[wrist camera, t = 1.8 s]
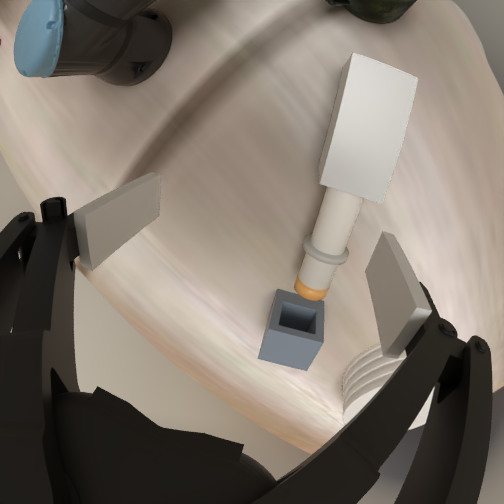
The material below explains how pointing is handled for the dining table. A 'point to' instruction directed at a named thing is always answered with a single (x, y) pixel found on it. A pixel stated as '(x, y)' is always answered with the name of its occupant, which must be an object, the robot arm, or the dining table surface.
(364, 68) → the sleeve
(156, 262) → the dining table surface
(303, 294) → the tube
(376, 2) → the mug
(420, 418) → the plate stack
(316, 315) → the socket
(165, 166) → the dining table surface
